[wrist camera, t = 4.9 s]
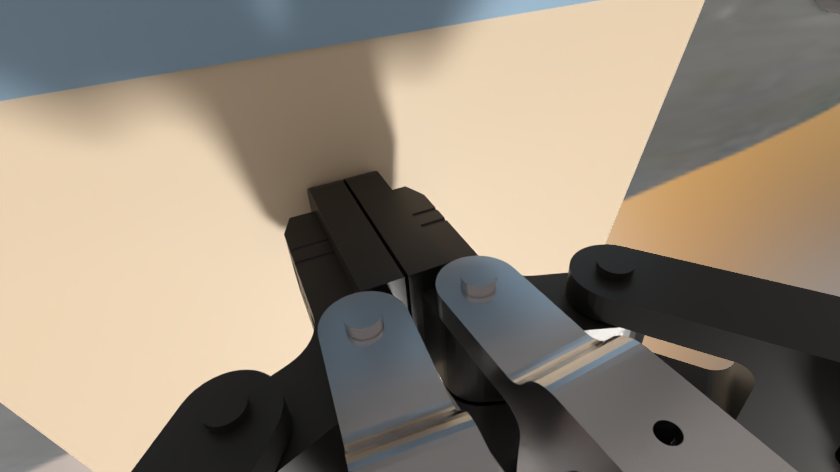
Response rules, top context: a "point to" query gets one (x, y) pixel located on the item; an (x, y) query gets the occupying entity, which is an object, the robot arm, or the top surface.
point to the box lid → (280, 171)
